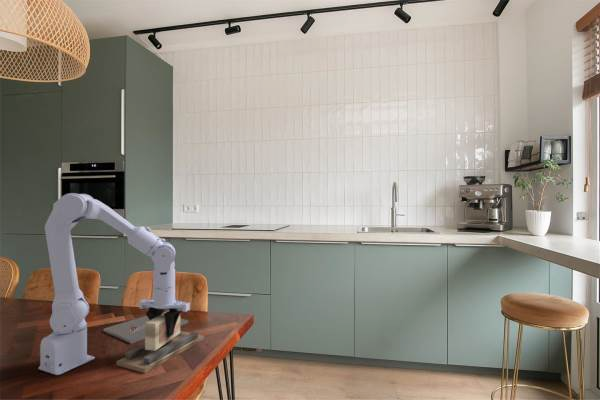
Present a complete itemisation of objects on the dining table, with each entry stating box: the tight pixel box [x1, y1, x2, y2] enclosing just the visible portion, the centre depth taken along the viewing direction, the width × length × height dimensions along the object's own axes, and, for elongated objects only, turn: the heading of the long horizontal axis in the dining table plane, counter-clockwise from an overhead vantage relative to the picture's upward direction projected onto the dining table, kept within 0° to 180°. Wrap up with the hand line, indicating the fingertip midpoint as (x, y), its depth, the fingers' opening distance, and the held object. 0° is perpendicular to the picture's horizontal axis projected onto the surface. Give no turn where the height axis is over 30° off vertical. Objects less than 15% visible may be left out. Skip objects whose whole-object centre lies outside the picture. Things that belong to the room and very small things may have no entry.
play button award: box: [103, 315, 189, 344], centre depth 112 cm, size 16×2×20 cm
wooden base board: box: [116, 330, 206, 374], centre depth 94 cm, size 22×10×2 cm, turn 156°
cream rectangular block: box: [144, 310, 182, 351], centre depth 94 cm, size 12×3×7 cm, turn 168°
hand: (164, 335), depth 94 cm, fingers closed on cream rectangular block, 3 cm apart
